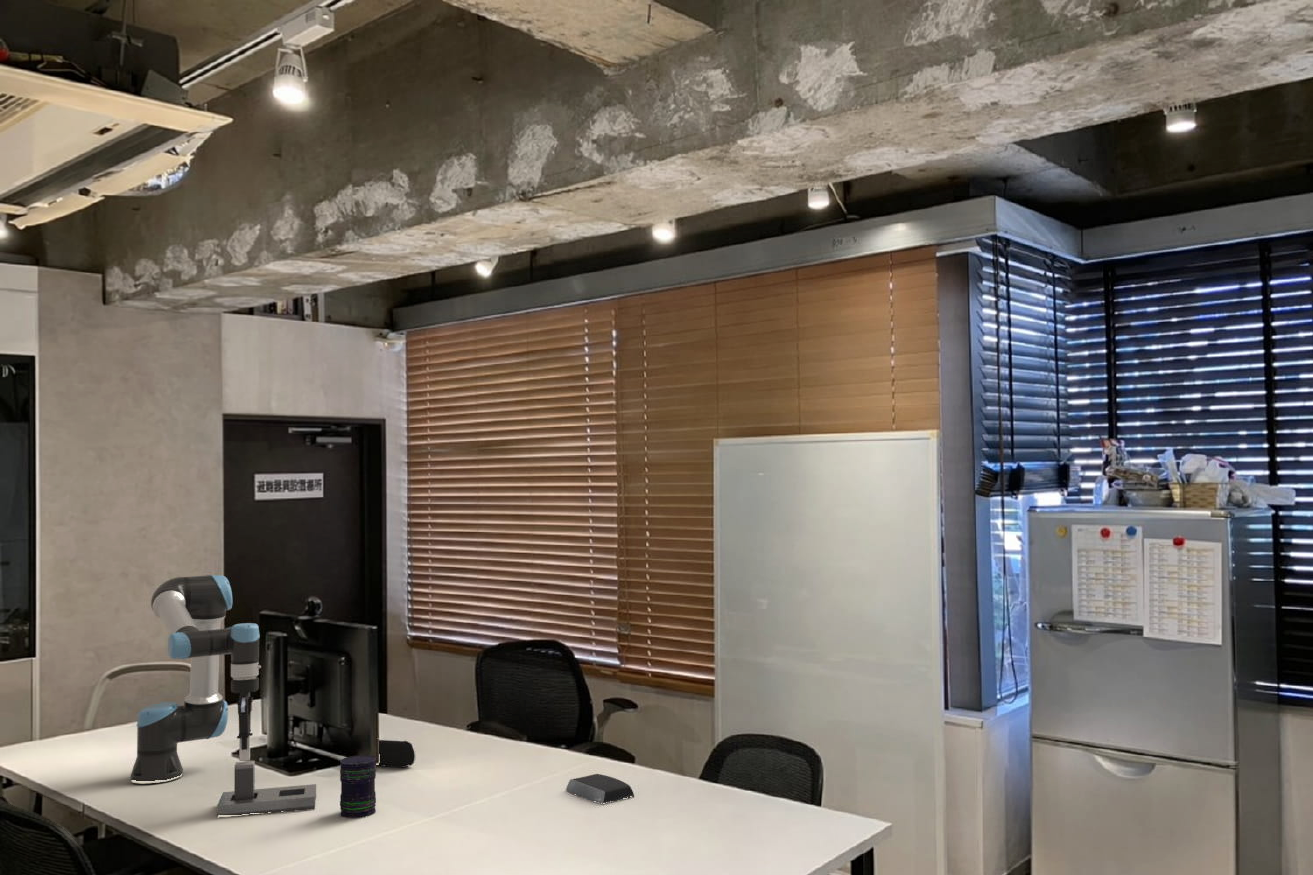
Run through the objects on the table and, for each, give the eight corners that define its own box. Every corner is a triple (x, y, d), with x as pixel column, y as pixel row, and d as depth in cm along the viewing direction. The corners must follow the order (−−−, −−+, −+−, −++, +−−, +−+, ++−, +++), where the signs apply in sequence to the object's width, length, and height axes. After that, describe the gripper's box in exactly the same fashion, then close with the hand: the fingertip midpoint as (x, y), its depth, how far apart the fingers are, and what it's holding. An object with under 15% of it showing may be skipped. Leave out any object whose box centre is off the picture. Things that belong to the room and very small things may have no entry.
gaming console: (413, 769, 342) (417, 766, 345) (411, 742, 342) (415, 739, 345) (361, 766, 348) (365, 763, 350) (360, 739, 348) (364, 737, 350)
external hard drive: (600, 806, 299) (600, 792, 299) (563, 792, 314) (563, 778, 315) (636, 798, 307) (636, 783, 307) (599, 784, 322) (599, 770, 323)
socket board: (223, 804, 306) (223, 792, 306) (316, 795, 313) (316, 783, 313) (216, 818, 292) (217, 805, 293) (314, 809, 300) (314, 796, 300)
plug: (236, 803, 302) (236, 761, 303) (254, 802, 304) (254, 760, 304) (234, 808, 298) (234, 765, 299) (253, 806, 299) (253, 764, 300)
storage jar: (338, 810, 298) (338, 757, 299) (374, 806, 302) (374, 753, 302) (341, 820, 289) (341, 765, 290) (377, 815, 292) (377, 761, 293)
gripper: (256, 680, 298) (256, 764, 296) (260, 673, 310) (260, 753, 309) (228, 682, 296) (228, 766, 294) (233, 674, 308) (233, 755, 307)
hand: (244, 759), depth 302 cm, fingers closed
